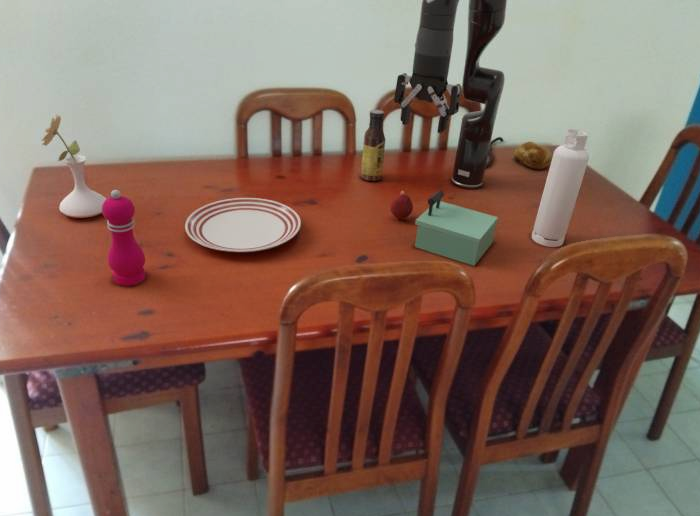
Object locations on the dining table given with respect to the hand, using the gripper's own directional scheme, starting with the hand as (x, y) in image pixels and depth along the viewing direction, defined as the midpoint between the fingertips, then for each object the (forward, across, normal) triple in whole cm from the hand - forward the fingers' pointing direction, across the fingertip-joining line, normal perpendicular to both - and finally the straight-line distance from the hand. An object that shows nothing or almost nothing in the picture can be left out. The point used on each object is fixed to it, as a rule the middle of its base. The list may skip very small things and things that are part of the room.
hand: (422, 127), depth 133 cm
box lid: (+22, -10, -5) cm, 25 cm away
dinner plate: (+28, +34, +21) cm, 49 cm away
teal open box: (+28, -10, -5) cm, 31 cm away
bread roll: (+29, -11, -74) cm, 80 cm away
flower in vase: (+28, +72, +36) cm, 86 cm away
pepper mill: (+28, +41, +51) cm, 71 cm away
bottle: (+29, -29, -23) cm, 47 cm away
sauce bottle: (+29, +26, -29) cm, 48 cm away
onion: (+29, +6, -9) cm, 31 cm away
